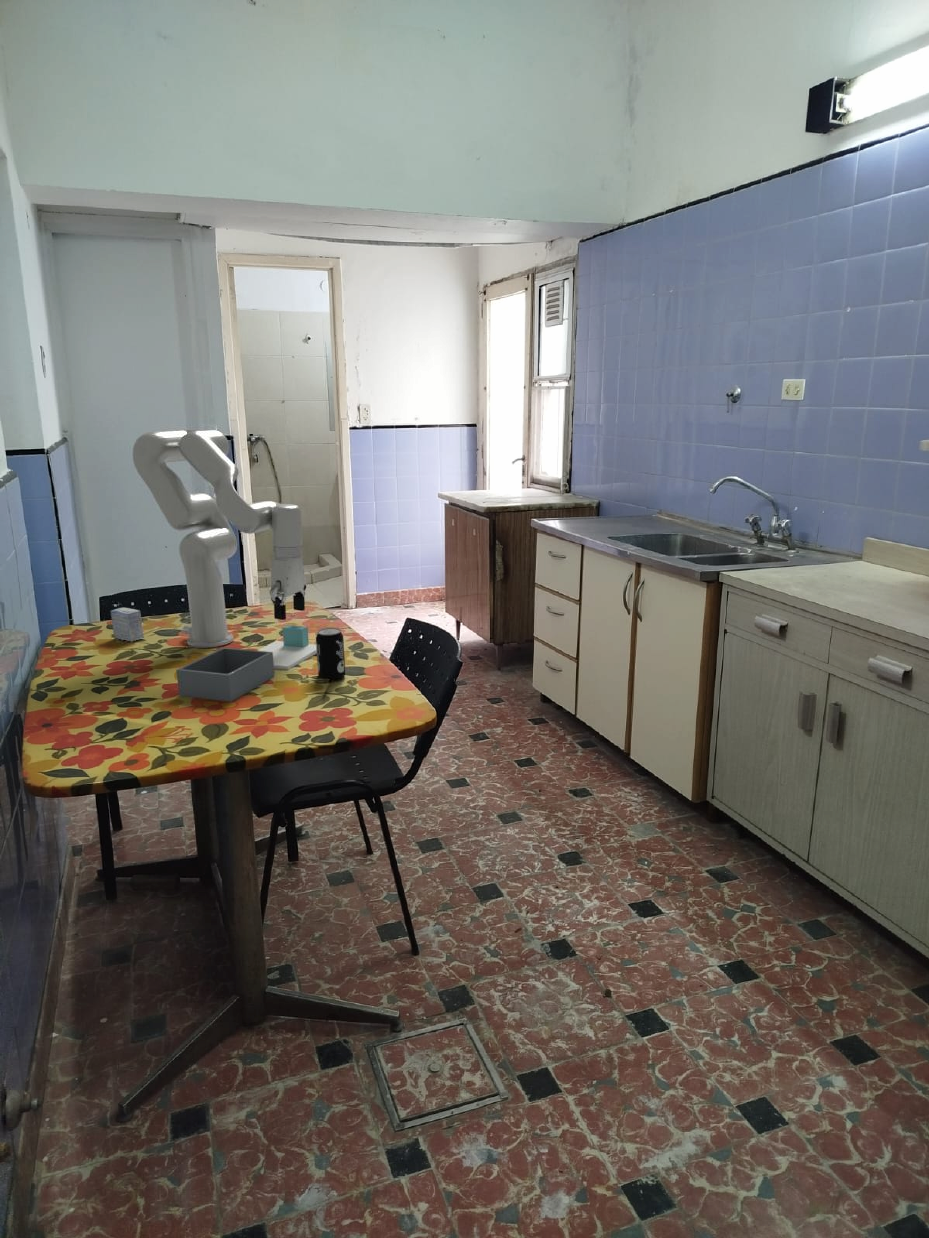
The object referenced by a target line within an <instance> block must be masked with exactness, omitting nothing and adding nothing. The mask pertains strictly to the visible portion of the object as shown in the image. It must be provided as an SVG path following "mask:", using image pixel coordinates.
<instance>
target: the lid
mask: <svg viewBox="0 0 929 1238" xmlns="http://www.w3.org/2000/svg"><path fill="white" fill-rule="evenodd" d="M281 629H282V641H281V640H276V641H273V642H271V643H270V644H268V645H265V646H263V647H261V648H259V649H258V650H257V651H267V652H273V663H274V670H276V669H277V670H290V669H292V668H294V667H296V666H297V665H300V663H302V662H304V661H306V660H307V659H310V658H311V657H313V656H315V655H317V649H316V643H310V641H309V628H308V626H305V625H304V626H303V625H291V624H287V625H286V626H283V627H282V628H281Z"/></svg>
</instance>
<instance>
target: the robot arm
mask: <svg viewBox="0 0 929 1238" xmlns="http://www.w3.org/2000/svg"><path fill="white" fill-rule="evenodd" d="M229 453H230V443H229V441H228V438H227V437H226V436H225V434H223V433H222V432H221V431H218V430H215V429H204V430H203V429H173V430H154V431H149V432H145V433H143V434H141V435H140V436H139V437H137V439H136V440H135V442H134V444H133V447H132V461H133V464H134V468H135V470H136V472H137V474H138V475H139V476H140V478H141V480H142V481H143V482H144V484H145V485H146V486H147V488H148V490H149V491H150V493H151V494H152V496H153V499H154V500H155V502H156V504H157V505H158V507H159V509H160V510H161V511H160V512H162V515H163V516H164V517H165V520H166V522H168V524H169V526H170V527H171V528H173V529H174V530H175V531H180V532H183V531H189V530H193V529H198V530H196V531H192V532H190V533H188V534H186V535H185V536H184V537H182V539H181V541H180V543H179V545H178V546H179V548H178V551H179V556H180V559H181V562H182V565H183V569H184V574H185V579H186V580H185V581H186V590H187V598H188V608H189V617H190V625H187V624H185V625H184V626H183V629H181V633H182V634H183V635H188V638H187V639H186V643H187V645H188V646H189V647H191V648H199V649H209V648H210V649H211V648H215V647H216V648H217V647H223V646H225V645H228V644H230V643H232V642H233V641H234V640H235V637H234V635H233V634H232V633H230V632H228V624H227V614H226V602H225V594H224V586H223V577H222V575H221V572H220V570H219V568H218V567H217V564H216V563H218V562H221V561H225V560H227V559H230V558H231V557H233V556H234V555H235V553H236V552H237V549H238V540H237V537H236V535H235V531H234V530H233V528H232V526H233V527H234V528H235V529H237V530H238V531H239V532H241V533H243V534H249V535H250V534H251V535H252V534H255V533H259V532H263V531H268V530H271V531H272V533H271V534H272V552H273V553H272V554H273V558H272V563H271V570H270V571H271V572H270V574H271V575H270V590H269V597H270V599H271V603H272V605H273V617H274V619H275V620H282V621H285V620H286V619H287V612H286V611H287V610H286V609H287V608H286V604H285V602H286V599H287V597H291V596H292V599H293V601H292V602H293V610H294V611H302V612H304V611H305V610H306V606H305V605H306V604H305V601H306V600H305V597H306V589H307V583H308V577H306V576H305V569H304V561H303V534H302V533H303V532H302V531H303V530H302V529H303V528H302V510H301V507H300V506H299V505H296V504H293V503H292V504H290V503H283V504H282V503H279V502H277V501H276V502H275V501H271V500H263V501H258V502H257V501H256V502H252V503H247V501H246V500H245V499H244V498H243V497H242V496H241V495H240V494H239V493H238V492H237V490H236V489H235V485H234V483H235V481H236V480H237V479H238V477H239V472H240V470H239V467H238V466H237V465H236V464H235V463H234V461H232V460H231V459H230V458H229V457H228V455H229ZM175 462H187V463H189V465H191V466H192V468H193V469H194V470H195V471H196V472H197V473H198V474H199V475H200V476H201V477H202V478H203V479H204V480H205V481H206V483H207V484H209V486H210V487H211V488H212V489H213V496H214V497H212V496H210V495H209V494H207V493H204V492H195V493H189V491H188V490H187V489H186V487H185V486H184V484H183V482H182V480H181V478H180V477H179V475H178V474H177V473H175V471H173V470H172V469H171V468H170V467H169V466H168V465H167V464H166V463H175ZM230 524H231V525H232V526H231V525H230Z"/></svg>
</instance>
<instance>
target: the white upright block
mask: <svg viewBox="0 0 929 1238" xmlns="http://www.w3.org/2000/svg"><path fill="white" fill-rule="evenodd" d="M141 616H142V615H141V610H139V609H135V608H130V607H118V608H116V609H113V610H110V617H111V624H112V631H113V638H118V639H121V640H120V641H123V640H127V641H133V640H138V639H141V638H145V635H144V631H143V629H144V628H143V623H142V622H143V621H142V617H141ZM118 639H117V640H118ZM127 641H126V642H127Z"/></svg>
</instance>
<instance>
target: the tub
mask: <svg viewBox="0 0 929 1238" xmlns="http://www.w3.org/2000/svg"><path fill="white" fill-rule="evenodd" d="M175 671H176V680H177V688H178V689H177V690H178V695H179V696H180V697H187V698H195V699H197V698H198V699H204V700H213V701H221V702H228V703H229V702H230V703H232V702H233V701H236V700H237V699H239V698H240V697H242V696H244V695H246V694H247V693H249V692H251V691H252V690H255V689H257V687H259V686H261V685H262V684H264V683H266V682H268V681H269V680H271V679H273V678H275V676H276V675H275V668H274V663H273V652H267V651H258V650H253V649H245V648H244V649H243V648H234V647H223V646H222V647H220V648H219V649H217V650H215V651H212V652H211V653H209V654H207V655H204V656H203V657H200V658H198V659H196V660H194V661H192V662H190V663H188V664H185V665H183V666H181V667H178V668H177V669H176V670H175Z"/></svg>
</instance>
